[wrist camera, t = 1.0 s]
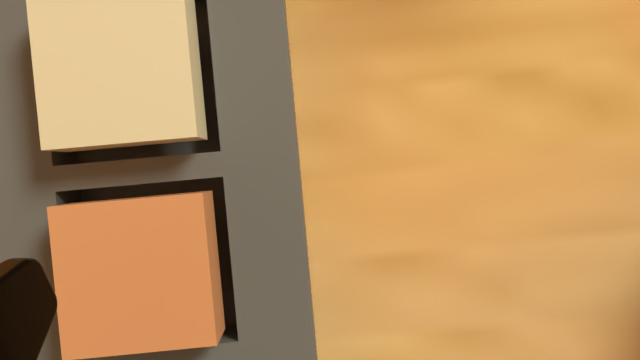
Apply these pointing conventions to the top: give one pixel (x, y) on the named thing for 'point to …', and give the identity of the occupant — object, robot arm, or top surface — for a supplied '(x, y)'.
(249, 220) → the button panel
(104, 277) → the terracotta key
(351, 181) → the top surface
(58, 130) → the sand key
